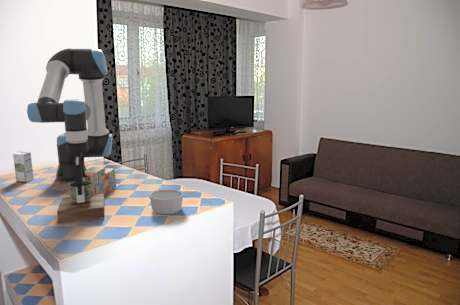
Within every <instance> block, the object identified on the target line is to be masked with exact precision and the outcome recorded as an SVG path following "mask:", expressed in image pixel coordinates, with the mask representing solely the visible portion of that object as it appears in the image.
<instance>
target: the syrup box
mask: <svg viewBox="0 0 460 305" xmlns="http://www.w3.org/2000/svg"><path fill="white" fill-rule="evenodd" d="M12 157H13V165H14V172H15V180H16V182H20V183H21V182H22V183H28V182H30V181H33V180H34V179H35V178H34V170H33V163H32V152H31V151H22V150H21V151H16V152H14V153H12Z"/></svg>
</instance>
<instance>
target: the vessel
mask: <svg viewBox="0 0 460 305" xmlns="http://www.w3.org/2000/svg"><path fill="white" fill-rule="evenodd" d="M91 184H92V182H91V181H88V180H83V185H84V197H85V201H88V200H90V199H91V198H92V196H91V194H92V193H93V188H92V186H91ZM73 185H75V181H70V182H68V187H69V190H68V194H69V197H72V198H71V201H73V202H77V197H76V187H74V186H73Z"/></svg>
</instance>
